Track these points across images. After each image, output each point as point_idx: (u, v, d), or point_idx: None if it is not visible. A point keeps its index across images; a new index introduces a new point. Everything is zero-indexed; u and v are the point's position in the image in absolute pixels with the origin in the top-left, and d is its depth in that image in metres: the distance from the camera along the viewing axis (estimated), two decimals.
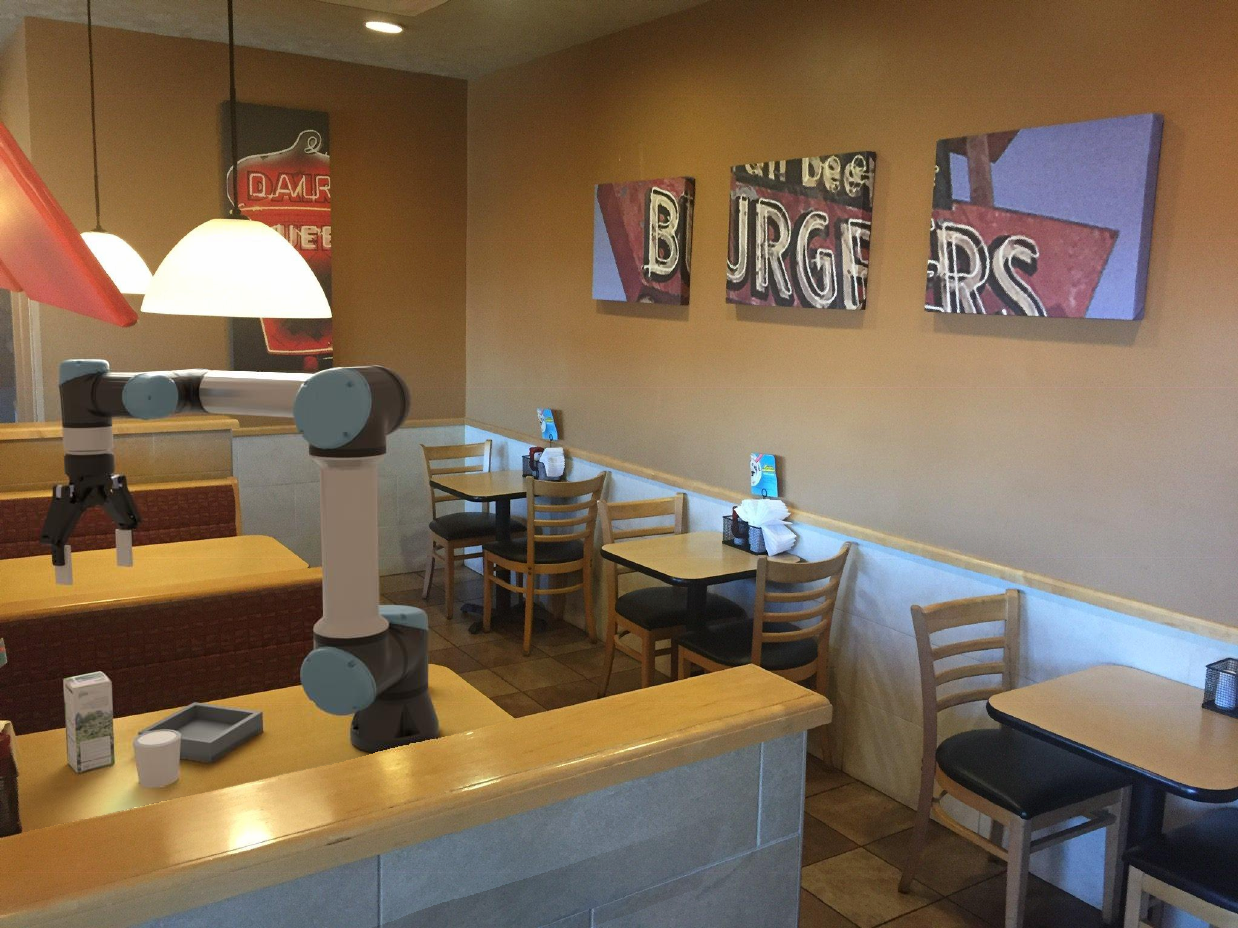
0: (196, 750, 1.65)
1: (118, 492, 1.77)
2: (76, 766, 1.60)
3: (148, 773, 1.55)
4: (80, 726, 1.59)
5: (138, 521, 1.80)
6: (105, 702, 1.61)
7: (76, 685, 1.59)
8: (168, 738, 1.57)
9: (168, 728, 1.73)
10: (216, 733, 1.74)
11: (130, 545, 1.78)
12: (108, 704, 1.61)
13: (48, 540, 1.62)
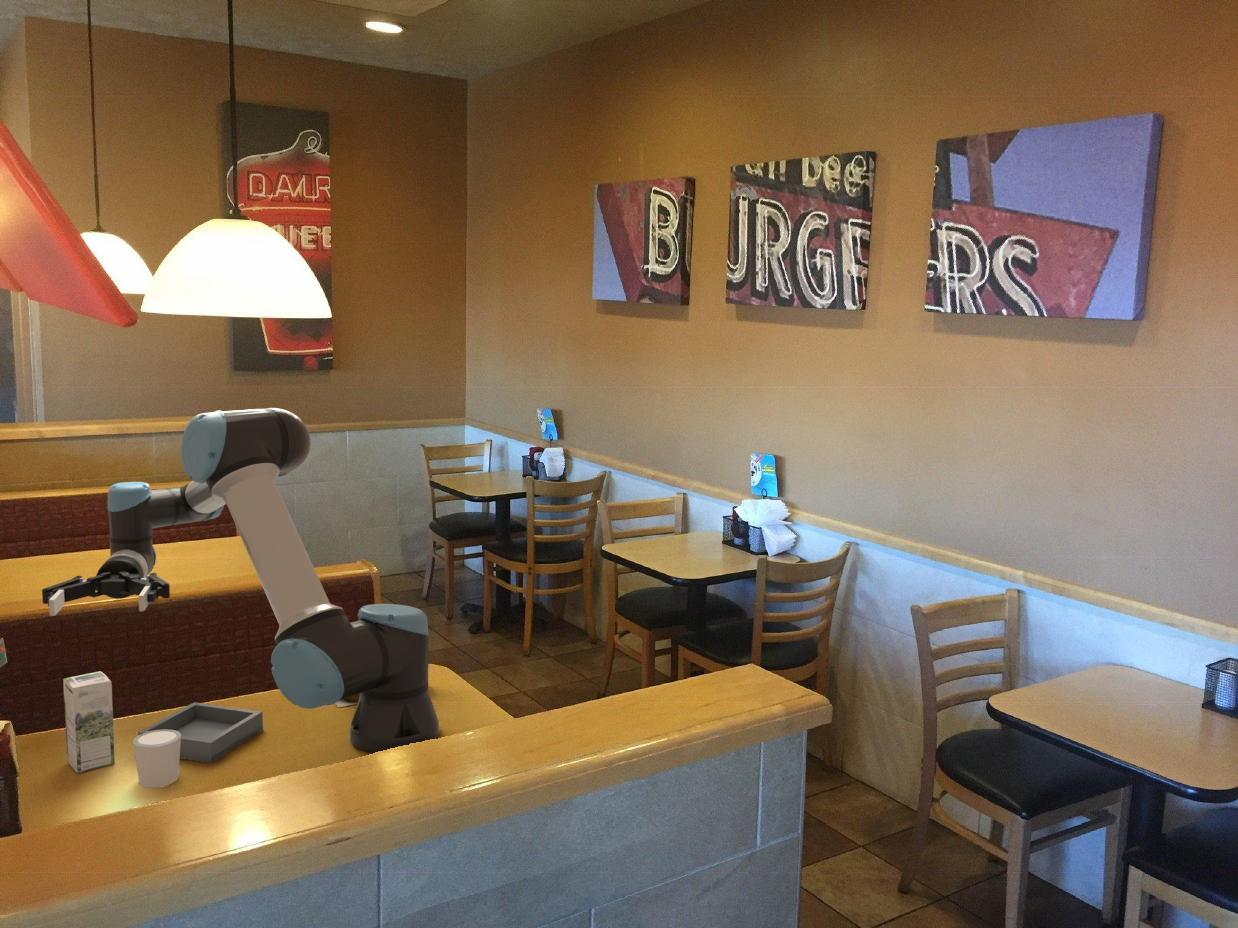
0: (196, 750, 1.65)
1: (150, 583, 1.84)
2: (76, 766, 1.60)
3: (148, 773, 1.55)
4: (80, 726, 1.59)
5: (163, 584, 1.79)
6: (105, 702, 1.61)
7: (76, 685, 1.59)
8: (168, 738, 1.57)
9: (168, 728, 1.73)
10: (216, 733, 1.74)
11: (145, 589, 1.75)
12: (108, 704, 1.61)
13: None
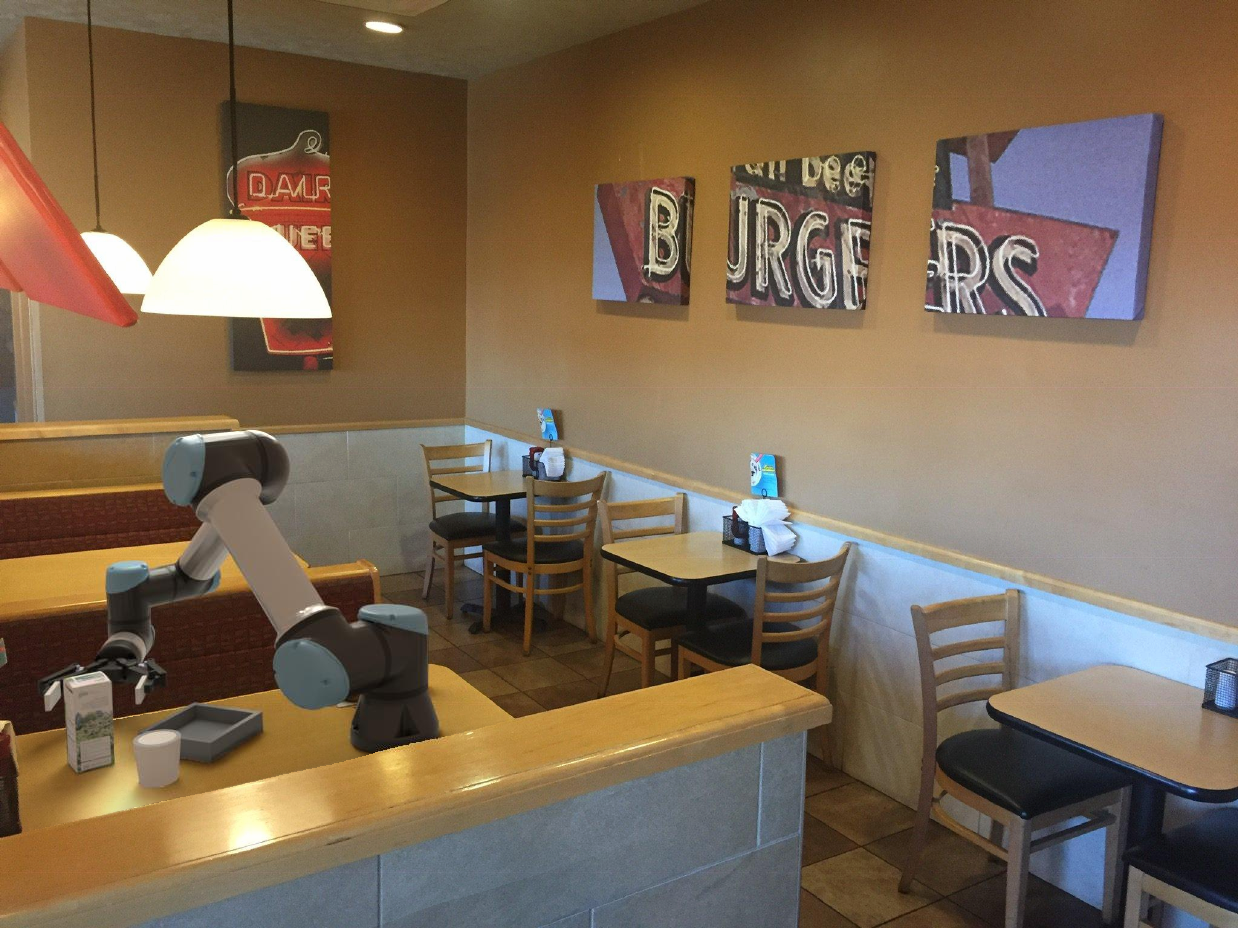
0: (196, 750, 1.65)
1: (148, 669, 1.81)
2: (76, 766, 1.60)
3: (148, 773, 1.55)
4: (80, 726, 1.59)
5: (160, 672, 1.77)
6: (105, 702, 1.61)
7: (76, 685, 1.59)
8: (168, 738, 1.57)
9: (168, 728, 1.73)
10: (216, 733, 1.74)
11: (141, 680, 1.72)
12: (108, 704, 1.61)
13: None
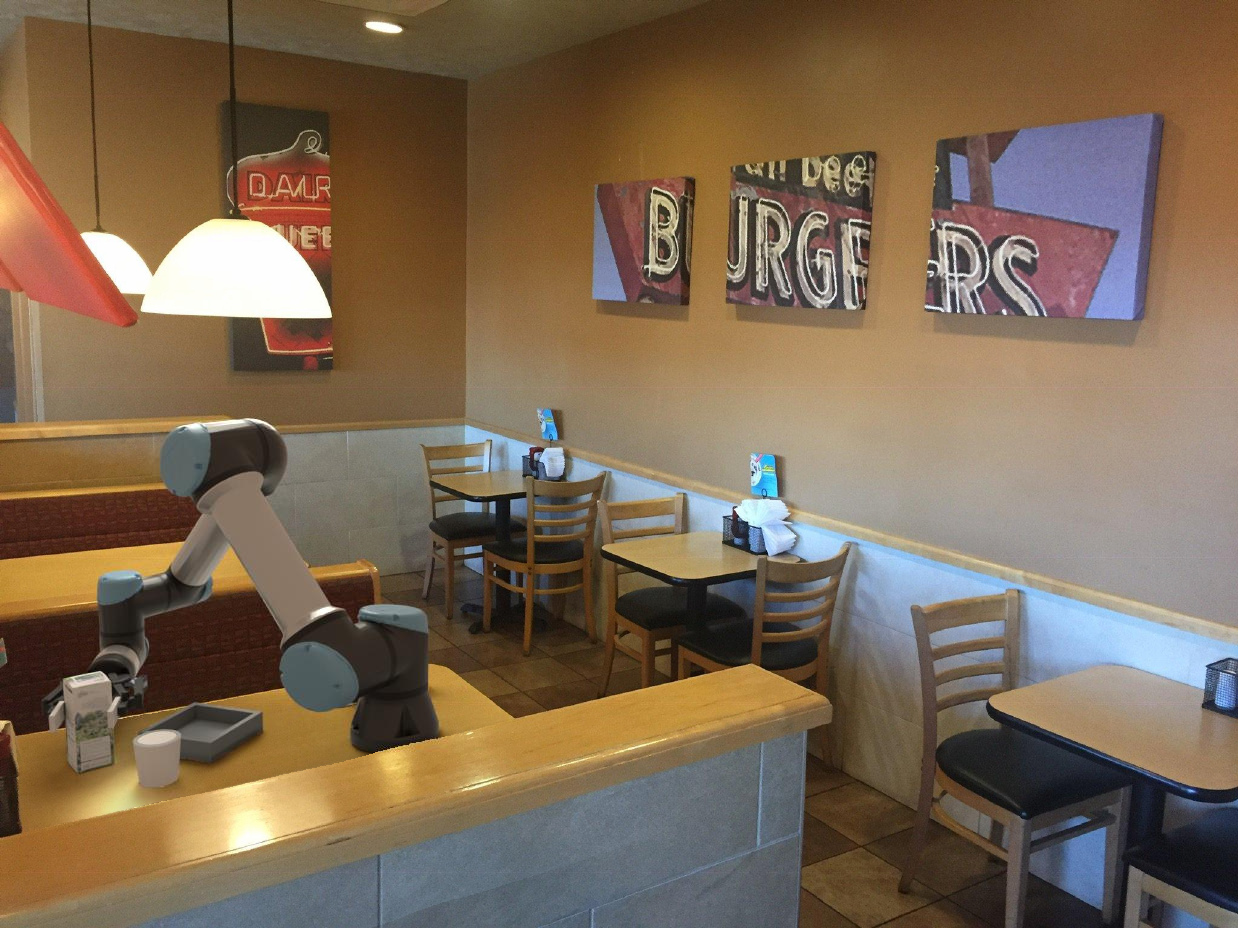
0: (196, 750, 1.65)
1: None
2: (76, 766, 1.60)
3: (148, 773, 1.55)
4: (80, 726, 1.59)
5: (135, 693, 1.66)
6: (105, 702, 1.61)
7: (75, 685, 1.59)
8: (168, 738, 1.57)
9: (168, 728, 1.73)
10: (216, 733, 1.74)
11: (114, 702, 1.62)
12: (108, 704, 1.61)
13: (42, 703, 1.63)
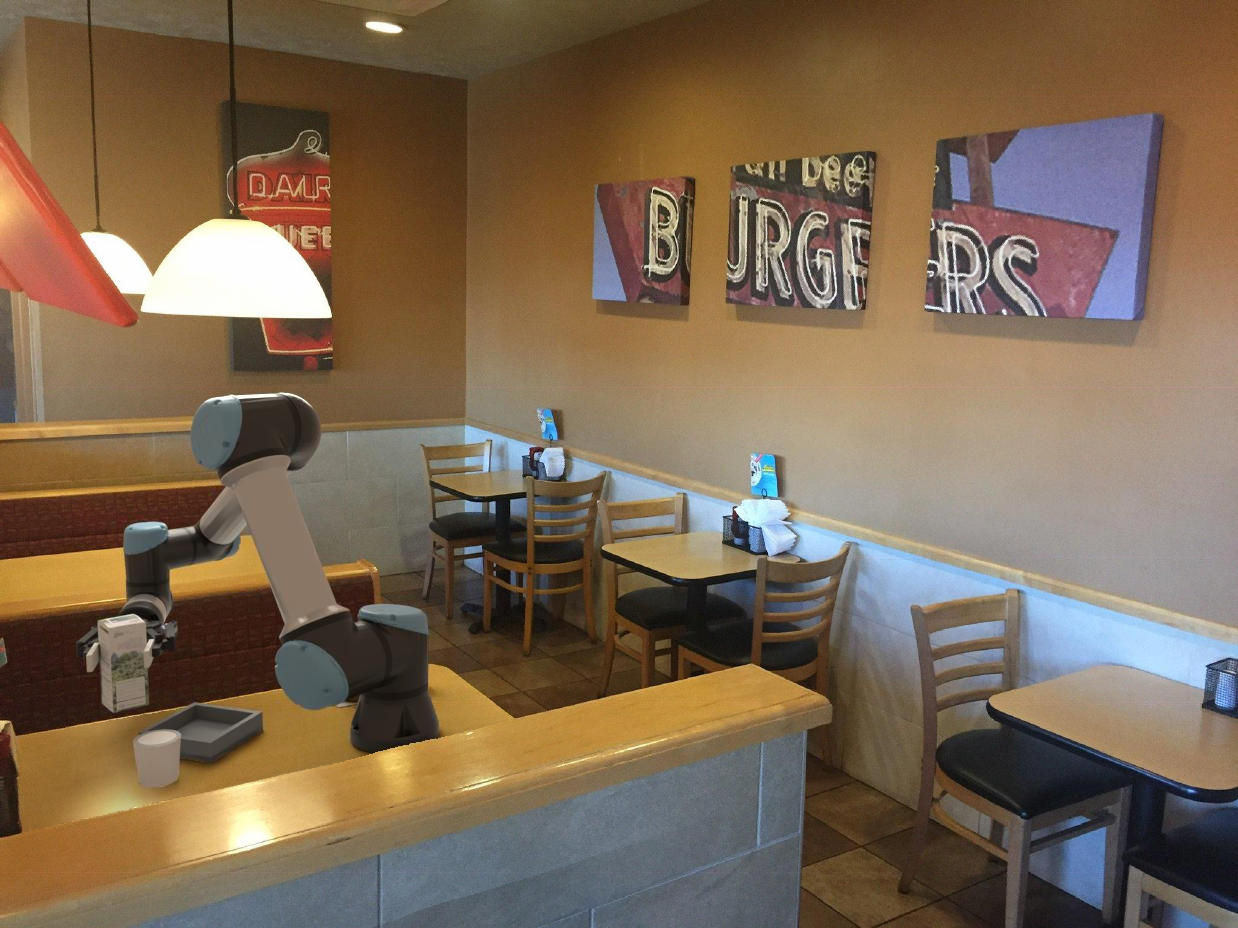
0: (196, 750, 1.65)
1: None
2: (112, 706, 1.62)
3: (148, 773, 1.55)
4: (115, 666, 1.61)
5: (168, 636, 1.69)
6: (140, 643, 1.63)
7: (111, 625, 1.61)
8: (168, 739, 1.57)
9: (168, 728, 1.73)
10: (216, 733, 1.74)
11: (149, 643, 1.64)
12: (142, 645, 1.63)
13: (76, 645, 1.65)
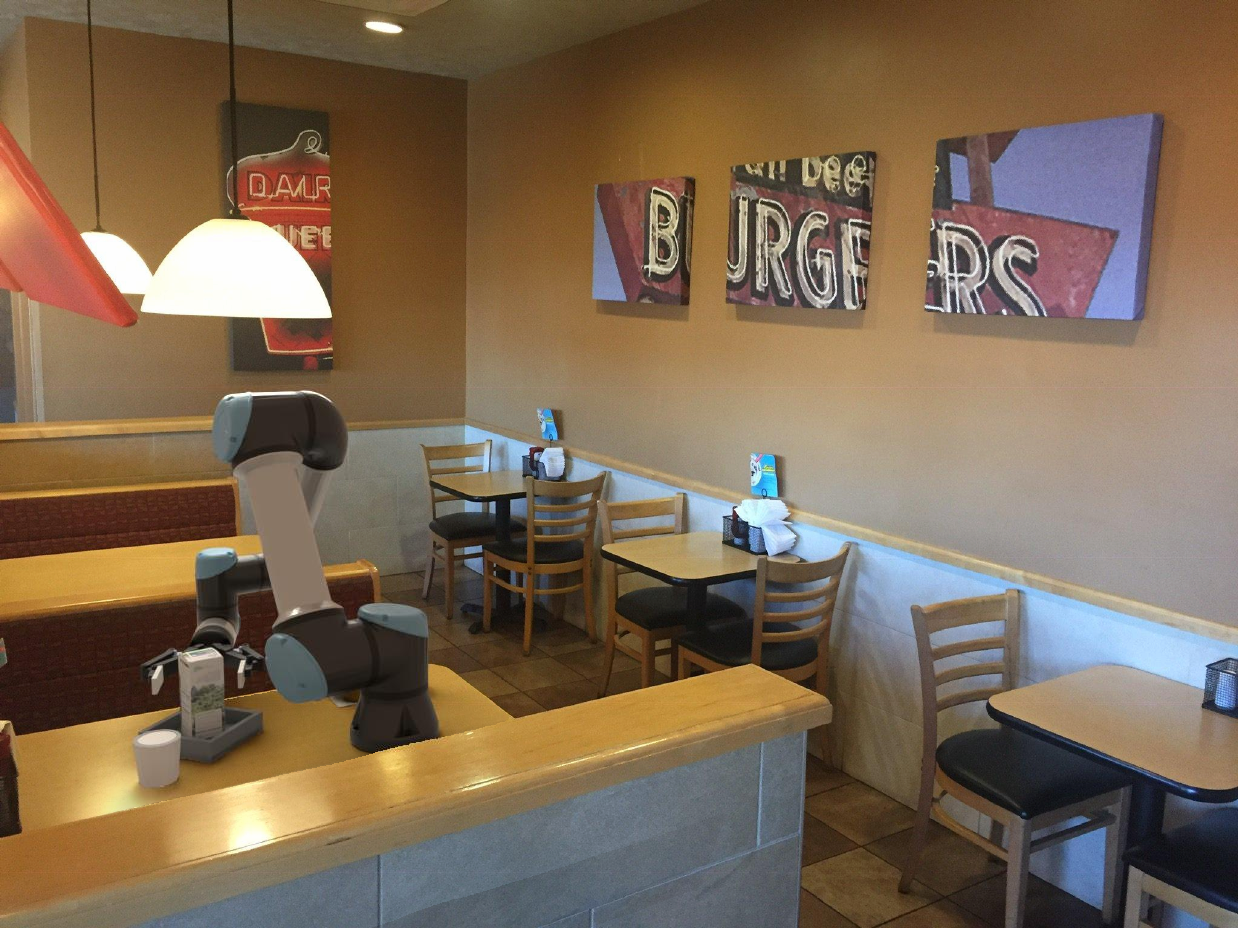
0: (196, 750, 1.65)
1: (243, 654, 1.82)
2: (191, 736, 1.69)
3: (148, 773, 1.55)
4: (195, 698, 1.68)
5: (258, 657, 1.78)
6: (218, 676, 1.71)
7: (191, 659, 1.68)
8: (168, 739, 1.57)
9: (168, 728, 1.73)
10: None
11: (242, 665, 1.73)
12: (220, 678, 1.71)
13: (141, 668, 1.73)
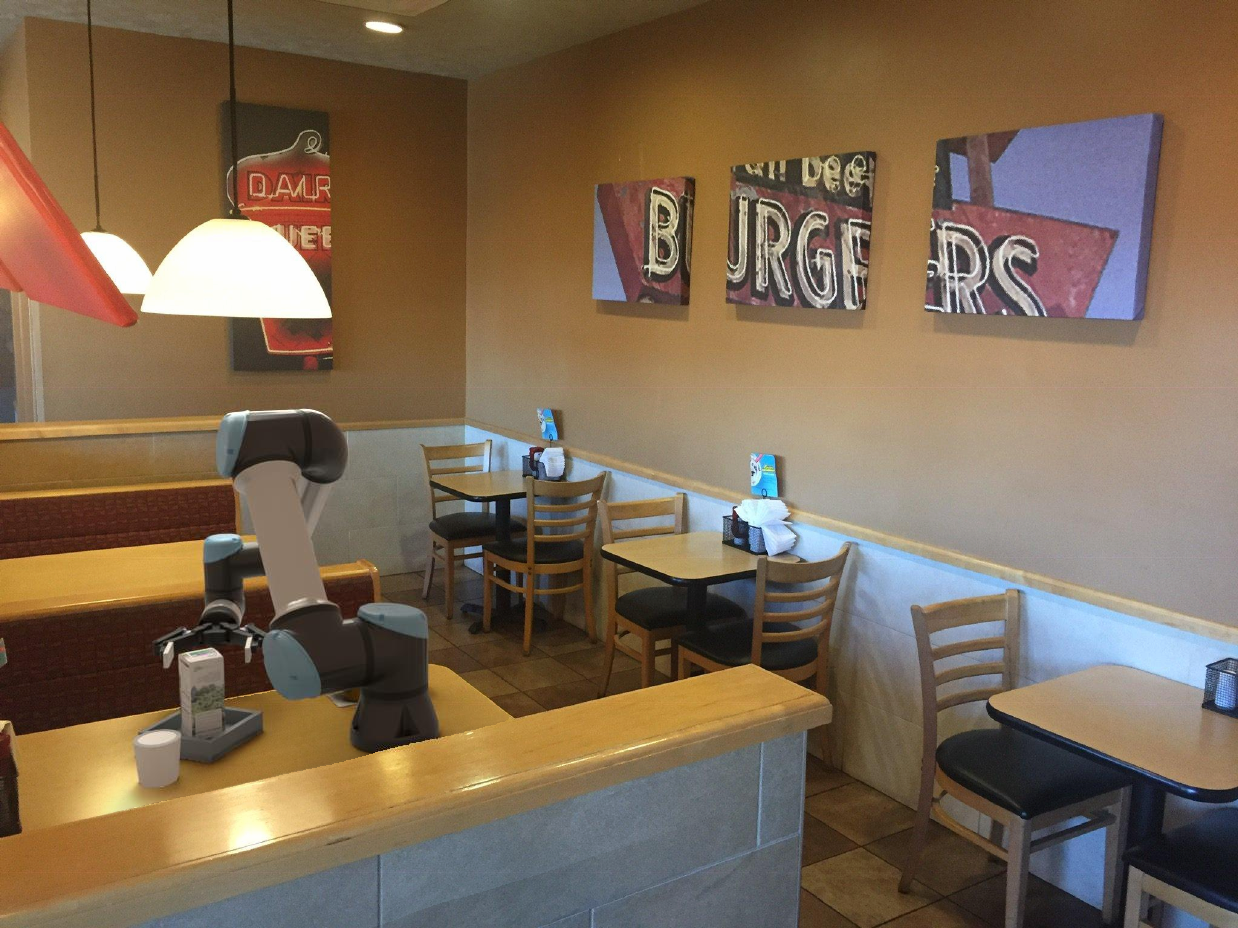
0: (196, 750, 1.65)
1: (249, 633, 1.95)
2: (191, 736, 1.69)
3: (148, 773, 1.55)
4: (195, 699, 1.68)
5: (263, 635, 1.90)
6: (218, 676, 1.70)
7: (191, 660, 1.68)
8: (168, 739, 1.57)
9: (168, 728, 1.73)
10: None
11: (248, 641, 1.86)
12: (220, 678, 1.71)
13: (153, 644, 1.85)
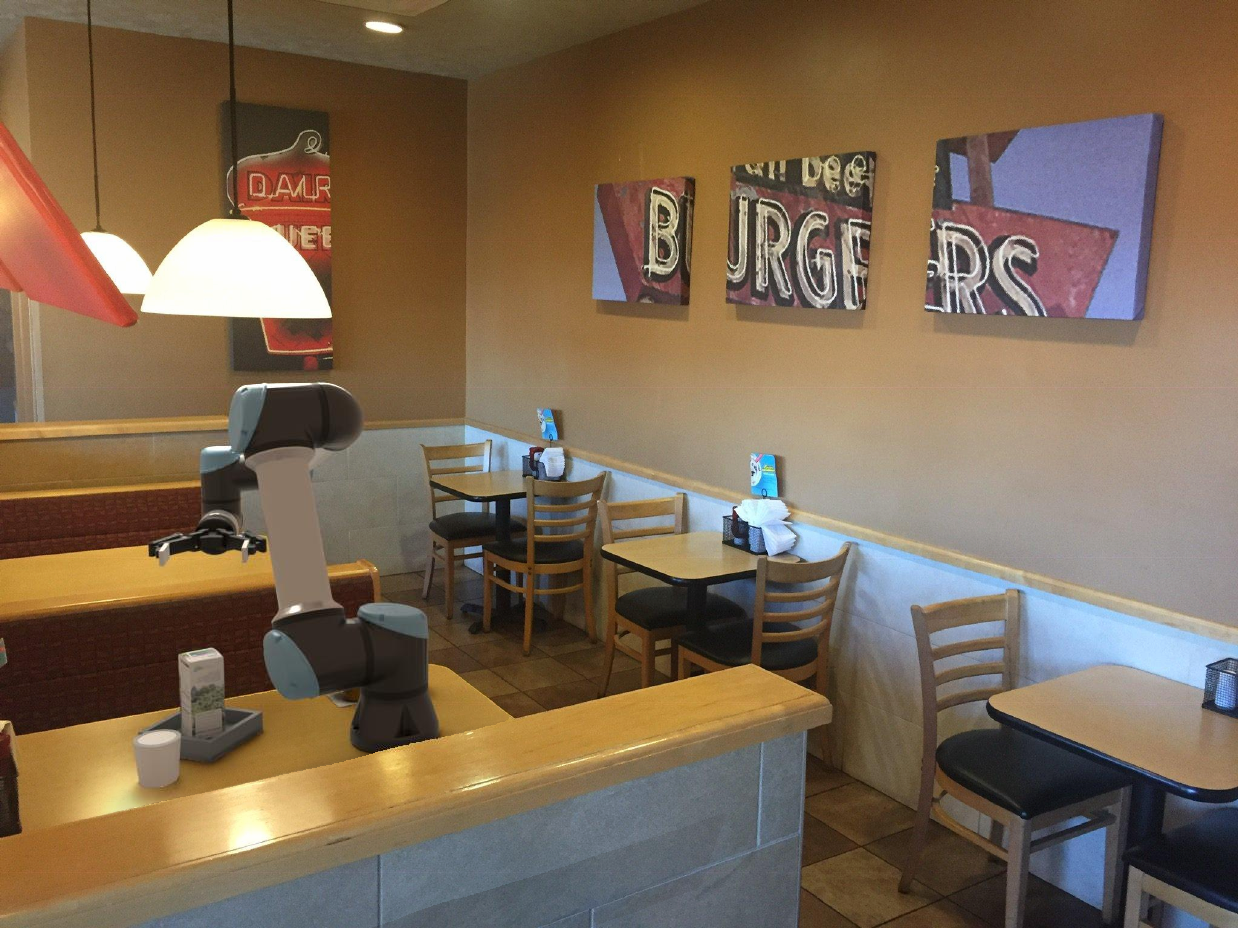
0: (196, 750, 1.65)
1: None
2: (191, 736, 1.69)
3: (148, 773, 1.55)
4: (195, 699, 1.68)
5: (261, 539, 1.88)
6: (218, 676, 1.70)
7: (191, 660, 1.68)
8: (168, 739, 1.57)
9: (168, 728, 1.73)
10: None
11: (245, 543, 1.83)
12: (220, 678, 1.71)
13: None
